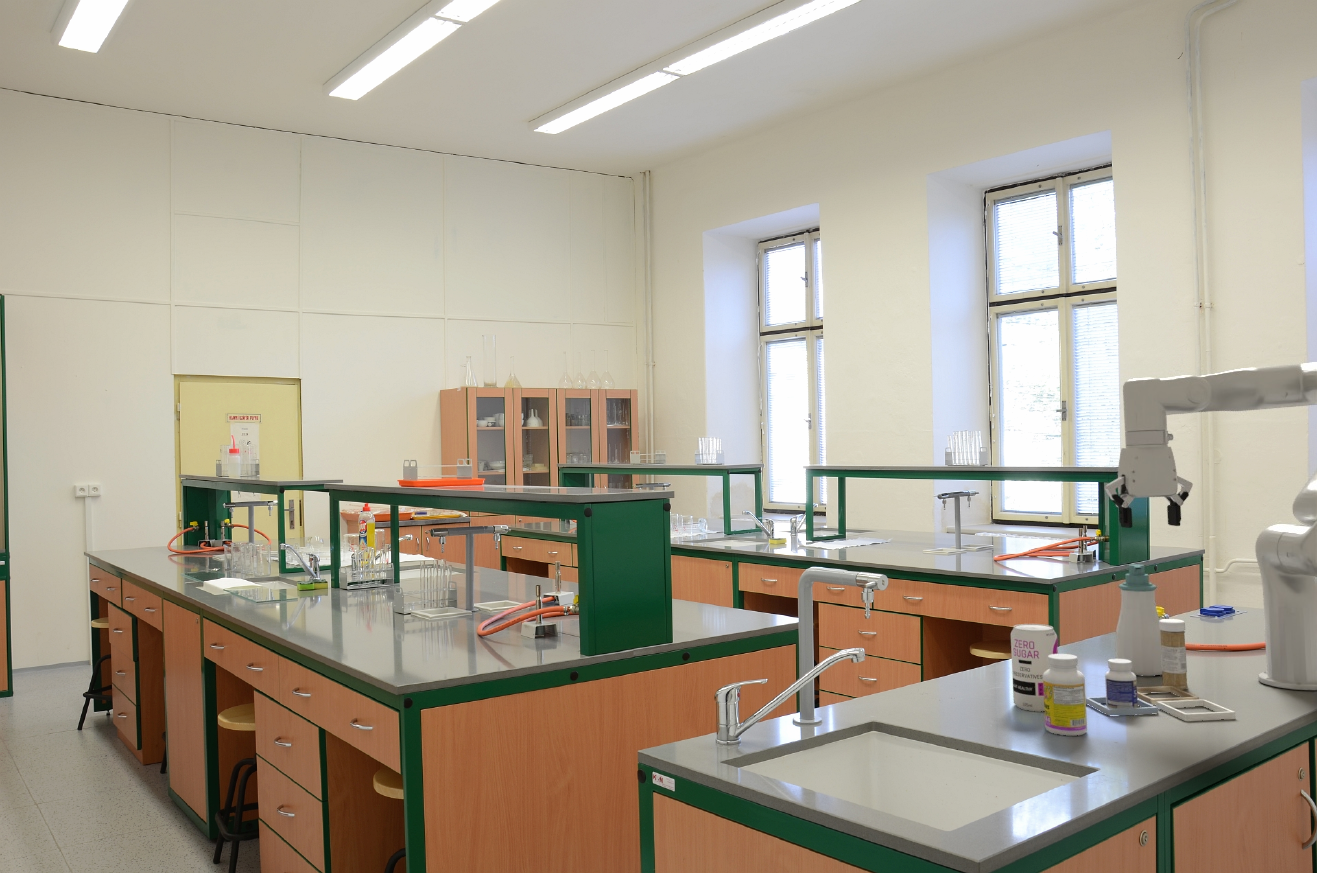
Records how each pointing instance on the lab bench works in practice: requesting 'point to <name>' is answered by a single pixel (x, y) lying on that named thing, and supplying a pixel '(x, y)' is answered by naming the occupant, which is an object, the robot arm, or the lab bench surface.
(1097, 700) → the tray slate
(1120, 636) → the soap bottle
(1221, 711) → the tray white
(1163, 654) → the sprinkles bottle
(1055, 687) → the supplement bottle
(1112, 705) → the pill bottle
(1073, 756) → the lab bench surface
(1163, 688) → the tray birch
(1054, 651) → the supplement can
